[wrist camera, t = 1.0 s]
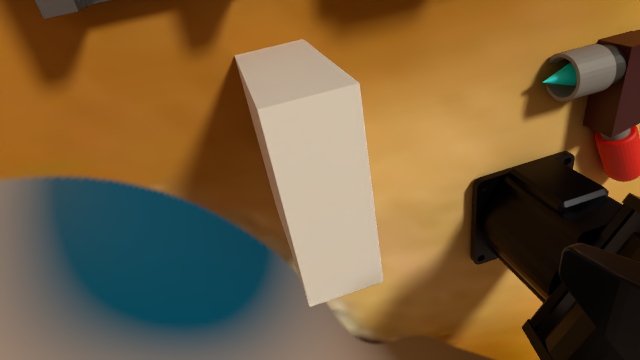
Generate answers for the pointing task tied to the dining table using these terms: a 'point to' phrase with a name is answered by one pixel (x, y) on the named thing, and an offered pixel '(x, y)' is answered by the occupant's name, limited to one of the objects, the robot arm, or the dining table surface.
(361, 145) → the block
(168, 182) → the dining table surface
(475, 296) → the dining table surface
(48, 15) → the rack
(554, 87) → the toy gun
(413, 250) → the dining table surface
